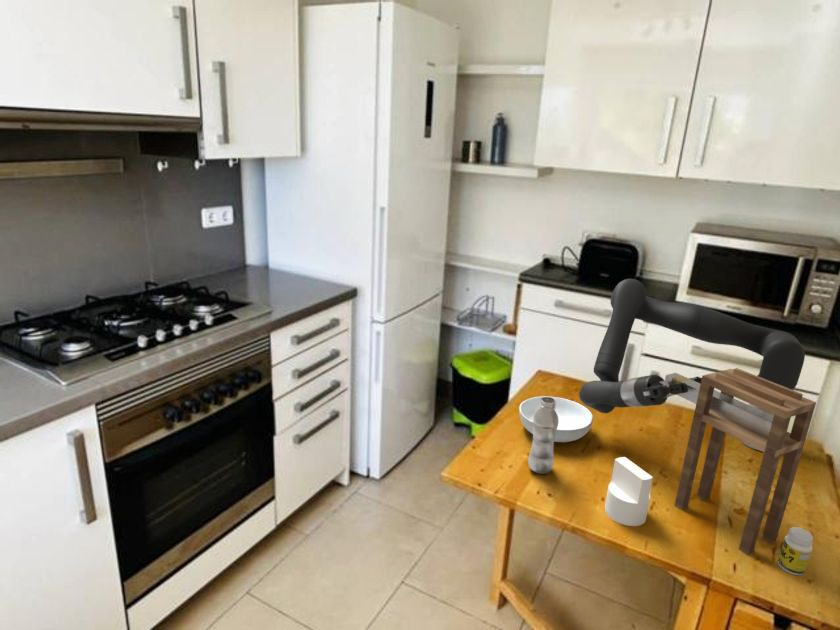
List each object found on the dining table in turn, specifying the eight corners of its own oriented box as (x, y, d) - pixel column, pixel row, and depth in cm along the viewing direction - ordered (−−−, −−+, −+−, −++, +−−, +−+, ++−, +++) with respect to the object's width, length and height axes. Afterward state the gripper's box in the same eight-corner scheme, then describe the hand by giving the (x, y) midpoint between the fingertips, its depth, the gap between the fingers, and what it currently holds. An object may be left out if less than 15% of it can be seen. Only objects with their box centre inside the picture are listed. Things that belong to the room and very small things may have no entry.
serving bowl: (598, 428, 164) (601, 407, 162) (577, 460, 147) (580, 438, 145) (532, 409, 174) (534, 389, 172) (505, 436, 157) (507, 415, 155)
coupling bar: (673, 385, 135) (675, 372, 134) (780, 436, 113) (785, 421, 112) (663, 388, 133) (665, 375, 132) (770, 439, 111) (774, 424, 110)
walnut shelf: (702, 494, 135) (732, 363, 124) (776, 541, 120) (817, 396, 109) (674, 505, 130) (703, 370, 119) (747, 555, 115) (788, 406, 104)
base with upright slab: (596, 505, 129) (603, 461, 125) (626, 497, 132) (634, 453, 129) (624, 530, 121) (632, 483, 117) (654, 520, 125) (664, 475, 121)
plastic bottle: (555, 466, 144) (564, 397, 138) (549, 480, 138) (558, 408, 132) (530, 460, 146) (538, 391, 140) (524, 473, 140) (532, 402, 134)
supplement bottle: (772, 559, 114) (781, 525, 112) (793, 558, 115) (803, 524, 112) (788, 576, 110) (799, 541, 107) (810, 575, 110) (821, 541, 108)
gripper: (619, 381, 138) (673, 373, 124) (658, 372, 144) (713, 363, 130) (627, 411, 137) (682, 406, 123) (666, 400, 143) (722, 394, 129)
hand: (698, 384), depth 126 cm, fingers open, 8 cm apart
